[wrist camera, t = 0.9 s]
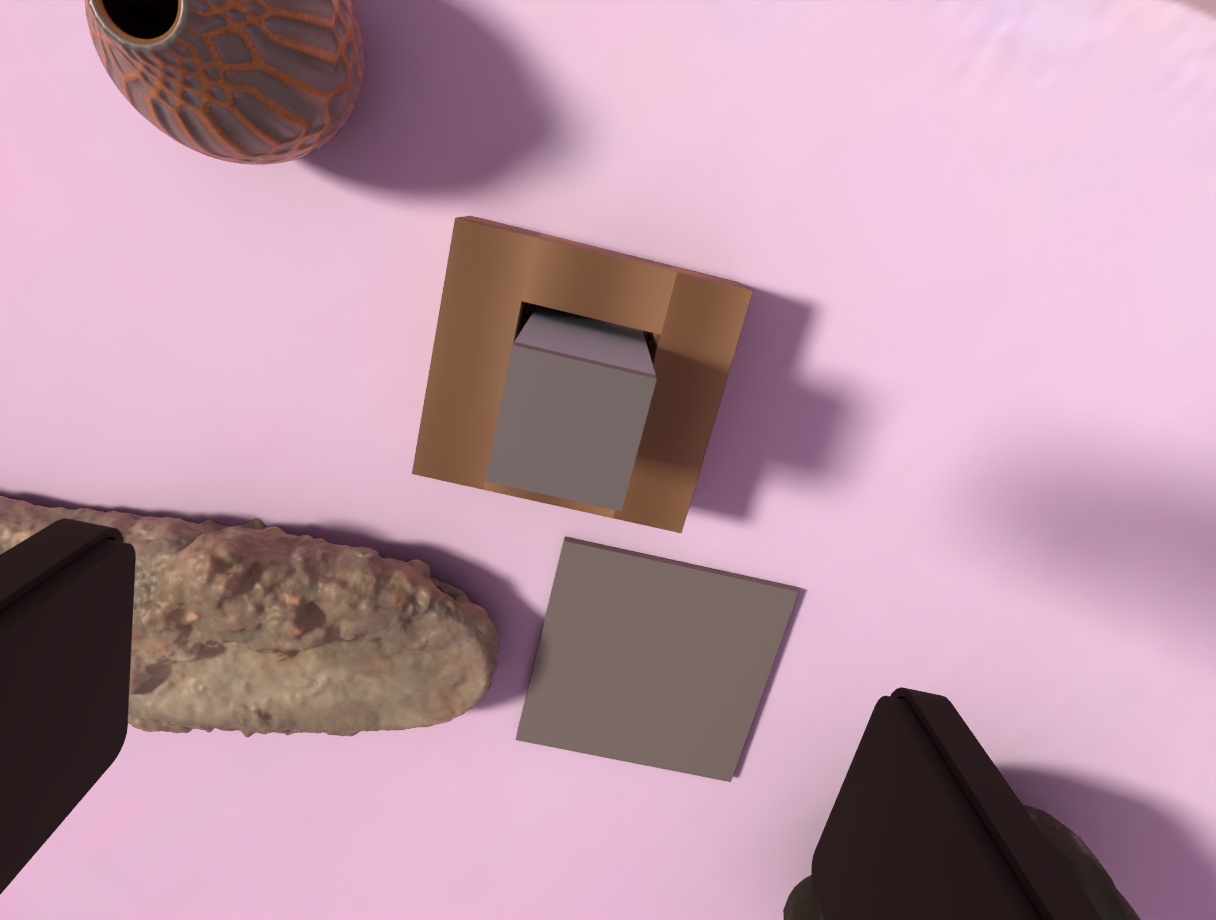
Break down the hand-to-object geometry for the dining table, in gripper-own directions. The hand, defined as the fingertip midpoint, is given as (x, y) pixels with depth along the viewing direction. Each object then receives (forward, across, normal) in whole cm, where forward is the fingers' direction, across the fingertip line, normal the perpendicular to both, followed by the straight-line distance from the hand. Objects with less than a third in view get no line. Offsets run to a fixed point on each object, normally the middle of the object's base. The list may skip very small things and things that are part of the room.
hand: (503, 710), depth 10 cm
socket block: (+21, 0, 0) cm, 21 cm away
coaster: (+21, -6, +12) cm, 25 cm away
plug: (+21, 0, 0) cm, 21 cm away
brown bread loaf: (+22, +18, +14) cm, 31 cm away
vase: (+21, +12, -8) cm, 25 cm away
